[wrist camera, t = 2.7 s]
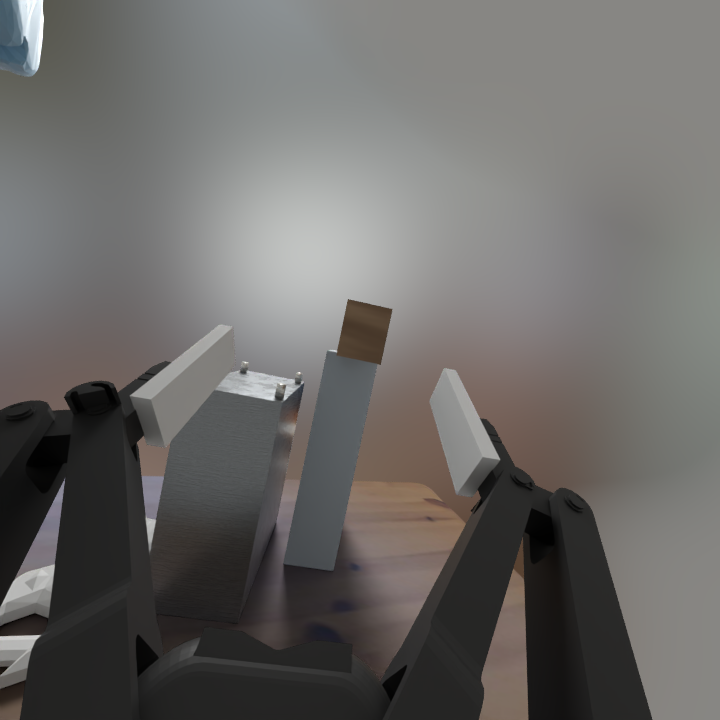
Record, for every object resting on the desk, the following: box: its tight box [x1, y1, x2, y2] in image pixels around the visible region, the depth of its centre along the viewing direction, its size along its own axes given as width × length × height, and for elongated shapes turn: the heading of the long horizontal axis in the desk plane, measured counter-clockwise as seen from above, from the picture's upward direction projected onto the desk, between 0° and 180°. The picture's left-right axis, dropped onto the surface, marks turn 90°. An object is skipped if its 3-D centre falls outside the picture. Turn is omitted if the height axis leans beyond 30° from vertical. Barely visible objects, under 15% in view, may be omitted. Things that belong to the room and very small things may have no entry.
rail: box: [337, 299, 392, 365], centre depth 37 cm, size 28×4×5 cm, turn 4°
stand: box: [283, 350, 377, 571], centre depth 42 cm, size 7×14×30 cm, turn 4°
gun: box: [0, 515, 156, 689], centre depth 27 cm, size 18×4×10 cm
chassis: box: [150, 362, 305, 624], centre depth 34 cm, size 10×16×26 cm, turn 4°
